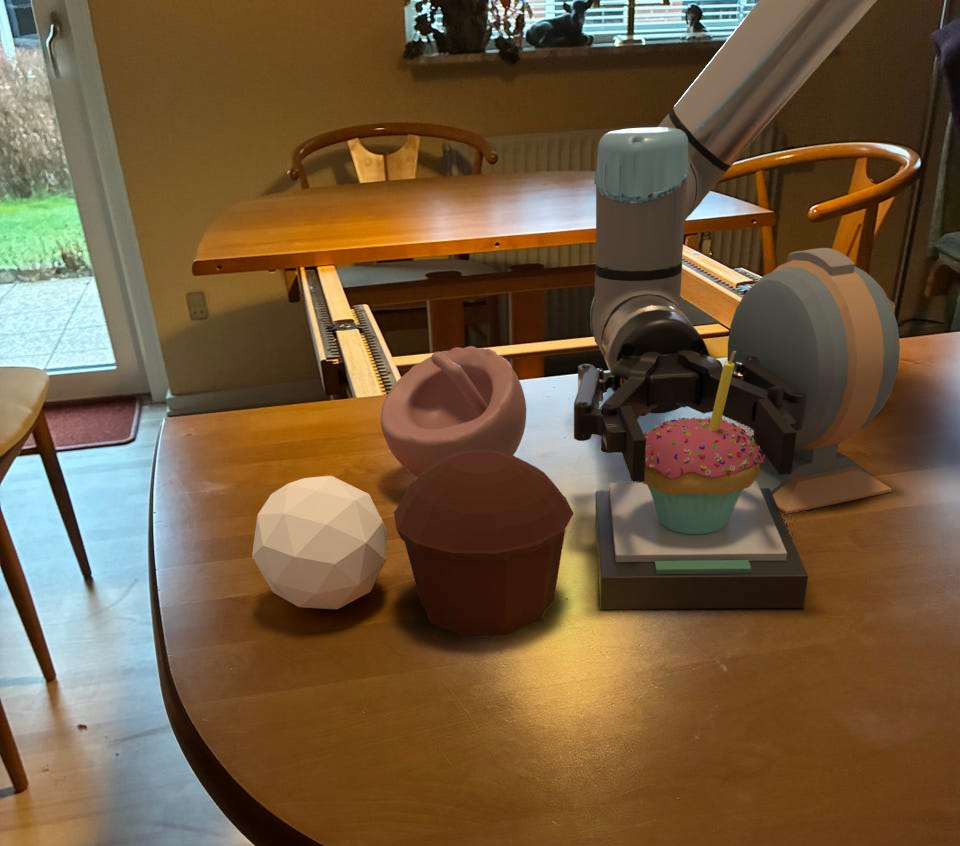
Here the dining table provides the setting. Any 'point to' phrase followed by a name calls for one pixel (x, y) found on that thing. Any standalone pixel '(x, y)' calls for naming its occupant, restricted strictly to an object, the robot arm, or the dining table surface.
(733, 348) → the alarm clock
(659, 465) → the cupcake
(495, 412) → the mortar and pestle
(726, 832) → the dining table surface
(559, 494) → the muffin
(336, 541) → the white geodesic ball
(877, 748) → the dining table surface
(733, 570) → the scale
